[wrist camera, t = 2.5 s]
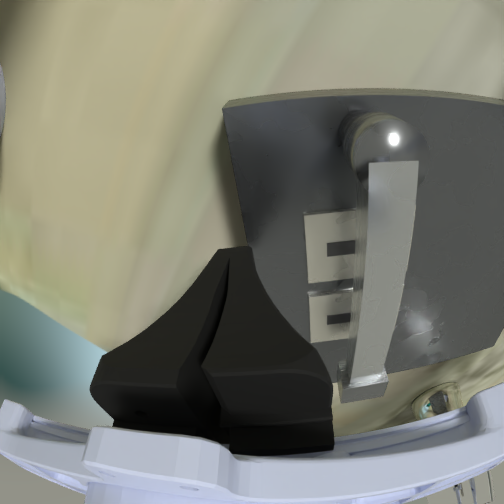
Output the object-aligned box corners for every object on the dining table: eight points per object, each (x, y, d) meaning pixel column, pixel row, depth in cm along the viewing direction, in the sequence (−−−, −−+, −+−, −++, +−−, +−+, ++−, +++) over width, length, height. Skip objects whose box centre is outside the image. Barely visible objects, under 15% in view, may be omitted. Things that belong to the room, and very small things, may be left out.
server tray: (537, 107, 10) (584, 129, 7) (481, 324, 21) (501, 361, 17) (228, 100, 12) (215, 116, 9) (275, 360, 22) (276, 409, 19)
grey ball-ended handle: (339, 112, 9) (356, 123, 7) (409, 111, 8) (436, 123, 7) (336, 376, 16) (340, 403, 15) (376, 370, 16) (383, 396, 15)
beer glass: (431, 380, 25) (466, 515, 13) (473, 377, 26) (509, 492, 13) (396, 413, 29) (417, 531, 17) (438, 409, 30) (463, 513, 17)
